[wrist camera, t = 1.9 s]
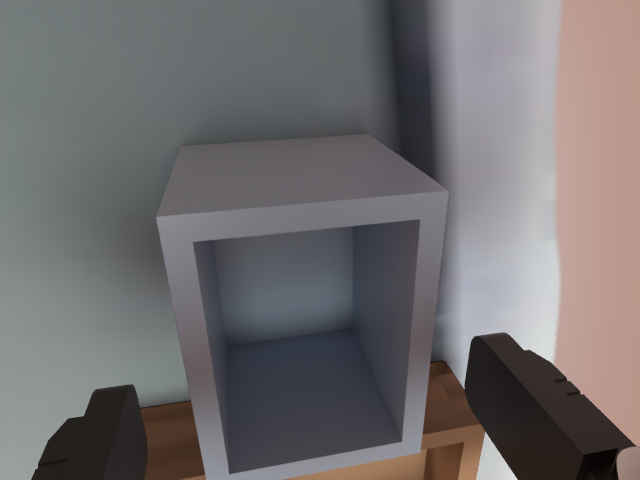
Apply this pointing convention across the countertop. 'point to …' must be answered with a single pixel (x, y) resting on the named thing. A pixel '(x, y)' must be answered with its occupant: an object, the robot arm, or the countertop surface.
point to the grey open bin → (303, 300)
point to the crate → (381, 476)
